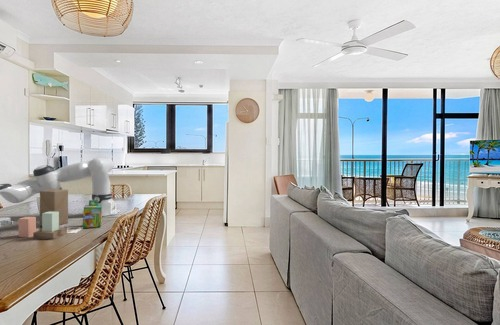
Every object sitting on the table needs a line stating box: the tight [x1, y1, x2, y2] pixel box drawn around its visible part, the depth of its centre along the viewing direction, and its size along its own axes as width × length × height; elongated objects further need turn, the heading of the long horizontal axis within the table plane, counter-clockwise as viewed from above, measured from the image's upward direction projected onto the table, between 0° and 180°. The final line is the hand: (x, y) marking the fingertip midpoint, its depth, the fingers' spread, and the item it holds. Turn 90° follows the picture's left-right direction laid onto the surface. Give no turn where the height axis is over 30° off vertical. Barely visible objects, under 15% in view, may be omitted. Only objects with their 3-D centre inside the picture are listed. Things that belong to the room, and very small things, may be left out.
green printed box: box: [82, 199, 103, 229], centre depth 172 cm, size 9×9×15 cm
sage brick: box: [41, 211, 60, 232], centre depth 150 cm, size 5×5×9 cm
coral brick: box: [18, 216, 37, 238], centre depth 151 cm, size 5×5×9 cm
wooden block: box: [39, 188, 69, 227], centre depth 175 cm, size 10×10×20 cm
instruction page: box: [66, 226, 84, 234], centre depth 162 cm, size 12×9×1 cm
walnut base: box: [33, 227, 68, 240], centre depth 150 cm, size 10×10×3 cm
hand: (4, 225), depth 151 cm, fingers open, 8 cm apart
